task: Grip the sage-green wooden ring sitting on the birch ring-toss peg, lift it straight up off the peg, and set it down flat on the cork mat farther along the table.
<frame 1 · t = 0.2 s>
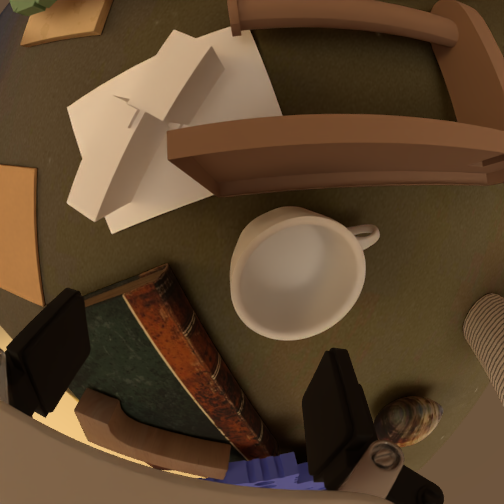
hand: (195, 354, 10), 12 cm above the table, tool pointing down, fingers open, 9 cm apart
seashell: (376, 433, 27), point 2 cm above the table
teacup: (294, 244, 21), on the table
cup: (481, 315, 23), on the table
toilet paper hanger: (362, 97, 18), on the table, touching napkin holder
napkin holder: (169, 127, 18), on the table, touching toilet paper hanger
blue perforated plate: (269, 497, 27), point 6 cm above the table, touching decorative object, wooden block
wooden block: (84, 415, 23), point 6 cm above the table, touching book, blue perforated plate
book: (161, 388, 27), on the table, touching wooden block
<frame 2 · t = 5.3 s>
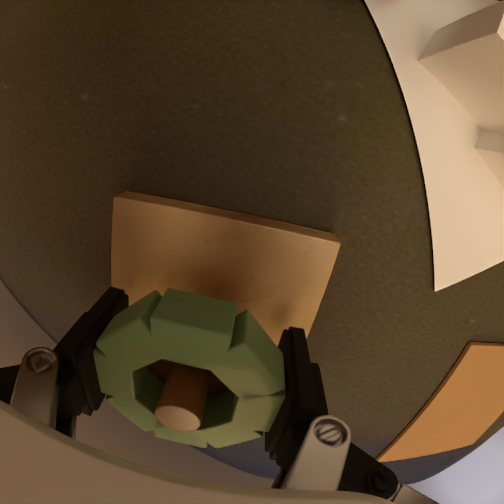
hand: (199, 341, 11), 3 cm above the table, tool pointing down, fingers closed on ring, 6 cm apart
cork mat: (472, 406, 17), on the table
napkin holder: (496, 125, 9), on the table, touching toilet paper hanger
ring peg: (210, 303, 13), on the table
ring: (192, 366, 9), point 4 cm above the table, touching gripper, ring peg
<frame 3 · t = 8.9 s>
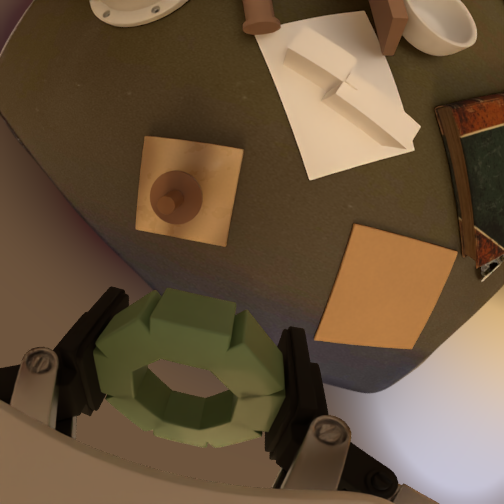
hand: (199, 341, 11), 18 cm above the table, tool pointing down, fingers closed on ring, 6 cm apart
teacup: (413, 24, 19), on the table
cork mat: (389, 295, 30), on the table
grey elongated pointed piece: (494, 258, 27), point 1 cm above the table
napkin holder: (340, 87, 22), on the table, touching toilet paper hanger
ring peg: (187, 188, 26), on the table
ring: (191, 365, 9), point 19 cm above the table, touching gripper
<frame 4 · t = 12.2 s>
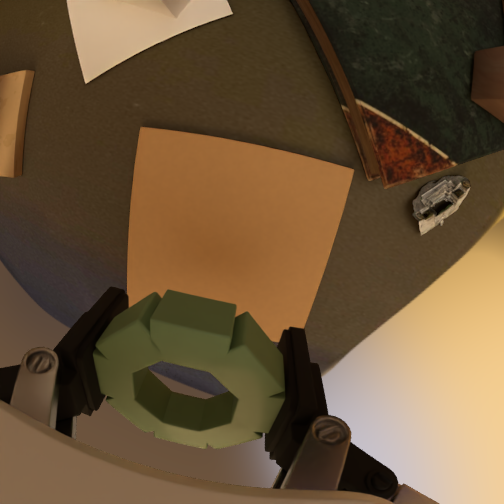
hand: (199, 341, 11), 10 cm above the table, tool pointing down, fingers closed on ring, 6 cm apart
cork mat: (225, 245, 20), on the table
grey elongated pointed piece: (439, 190, 17), point 1 cm above the table
ring: (192, 367, 9), point 11 cm above the table, touching gripper
book: (457, 36, 13), on the table, touching wooden block
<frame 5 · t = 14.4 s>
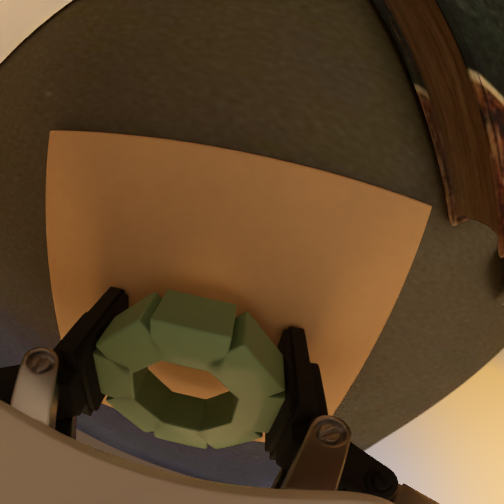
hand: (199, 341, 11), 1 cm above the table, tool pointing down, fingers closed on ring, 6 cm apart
cork mat: (201, 331, 11), on the table
ring: (192, 367, 9), point 2 cm above the table, touching gripper
when the fingers open (1 cm above the table, at t = 19.1 s): ring drops 2 cm, resting on cork mat.
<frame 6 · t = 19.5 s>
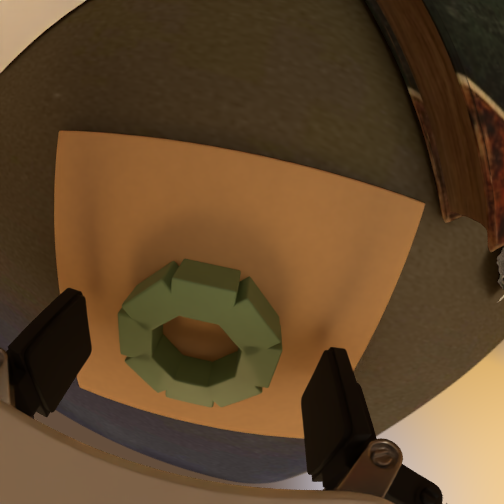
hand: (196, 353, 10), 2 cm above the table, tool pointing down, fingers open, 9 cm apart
cork mat: (204, 324, 12), on the table
ring: (201, 329, 11), resting on cork mat
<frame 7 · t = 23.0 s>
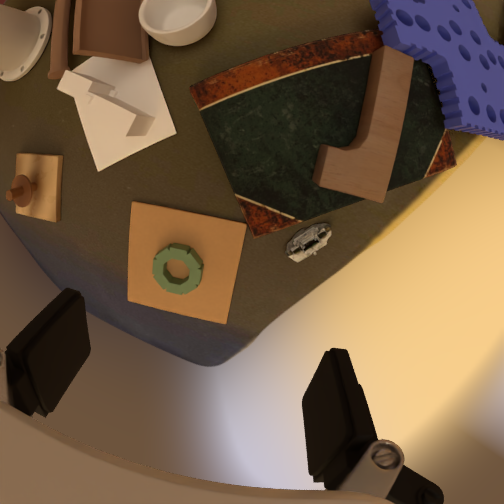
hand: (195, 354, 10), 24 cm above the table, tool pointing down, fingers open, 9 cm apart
teacup: (185, 22, 25), on the table
cork mat: (180, 265, 36), on the table
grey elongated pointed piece: (305, 235, 33), point 1 cm above the table
toilet paper hanger: (109, 13, 24), on the table, touching napkin holder
napkin holder: (116, 98, 28), on the table, touching toilet paper hanger
ring peg: (39, 185, 32), on the table
blue perforated plate: (471, 43, 18), point 6 cm above the table, touching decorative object, wooden block
wooden block: (346, 193, 26), point 6 cm above the table, touching book, blue perforated plate
ring: (179, 266, 35), resting on cork mat
book: (331, 119, 29), on the table, touching wooden block
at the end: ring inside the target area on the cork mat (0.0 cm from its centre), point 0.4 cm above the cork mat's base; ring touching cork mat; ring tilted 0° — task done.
